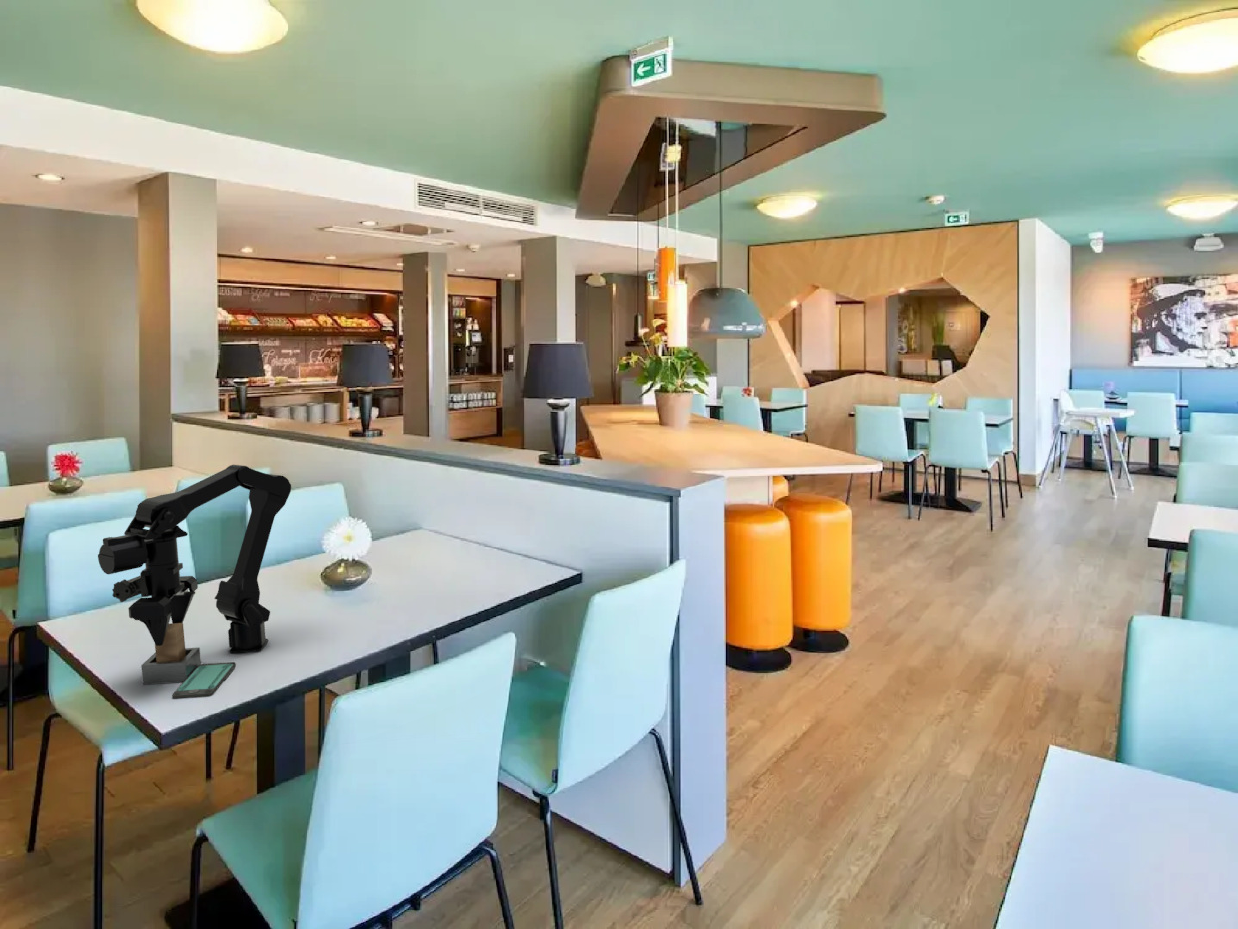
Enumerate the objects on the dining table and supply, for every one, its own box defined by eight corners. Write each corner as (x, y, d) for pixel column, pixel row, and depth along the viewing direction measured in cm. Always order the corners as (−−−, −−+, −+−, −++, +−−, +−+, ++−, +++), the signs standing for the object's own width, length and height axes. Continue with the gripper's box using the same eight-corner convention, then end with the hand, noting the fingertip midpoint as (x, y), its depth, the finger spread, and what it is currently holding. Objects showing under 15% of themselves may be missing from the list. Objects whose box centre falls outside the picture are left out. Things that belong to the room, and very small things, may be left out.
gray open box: (201, 665, 162) (199, 647, 162) (186, 681, 154) (185, 662, 154) (159, 668, 161) (157, 650, 160) (143, 684, 153) (141, 665, 153)
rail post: (187, 669, 160) (182, 622, 159) (179, 677, 156) (175, 629, 155) (166, 670, 159) (161, 624, 158) (158, 678, 155) (153, 631, 154)
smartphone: (170, 695, 147) (199, 663, 161) (171, 701, 147) (200, 668, 162) (212, 692, 148) (237, 660, 162) (212, 698, 148) (237, 666, 163)
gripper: (138, 552, 162) (144, 623, 164) (94, 577, 144) (102, 657, 146) (195, 549, 164) (201, 620, 166) (159, 574, 146) (166, 653, 148)
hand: (168, 637), depth 156 cm, fingers open, 9 cm apart
